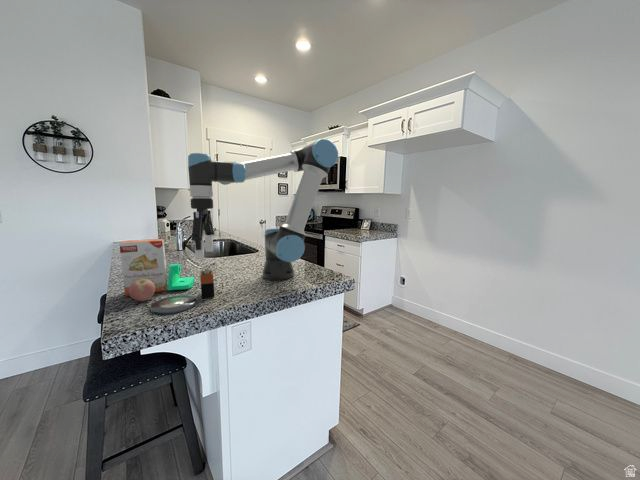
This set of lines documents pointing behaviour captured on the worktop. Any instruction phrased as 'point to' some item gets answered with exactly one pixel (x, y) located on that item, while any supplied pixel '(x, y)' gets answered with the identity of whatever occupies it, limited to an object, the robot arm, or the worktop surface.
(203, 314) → the worktop surface
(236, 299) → the worktop surface
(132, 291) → the apple
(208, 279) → the battery
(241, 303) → the worktop surface
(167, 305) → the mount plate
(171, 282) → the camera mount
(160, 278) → the cracker box
